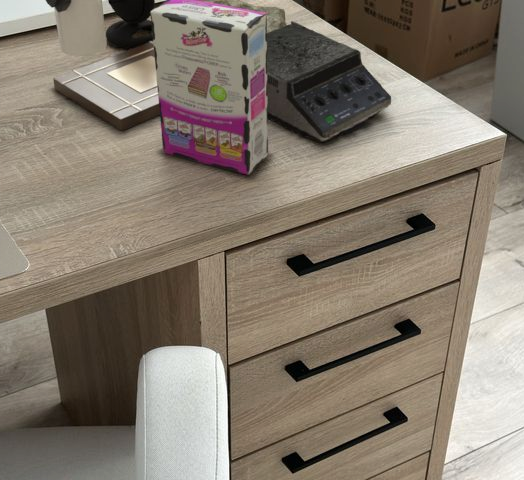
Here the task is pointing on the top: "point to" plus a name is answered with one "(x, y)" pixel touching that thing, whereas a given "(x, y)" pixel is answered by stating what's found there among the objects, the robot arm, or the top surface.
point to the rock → (273, 13)
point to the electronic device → (318, 84)
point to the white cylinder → (81, 28)
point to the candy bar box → (212, 83)
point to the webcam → (130, 23)
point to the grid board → (116, 87)
